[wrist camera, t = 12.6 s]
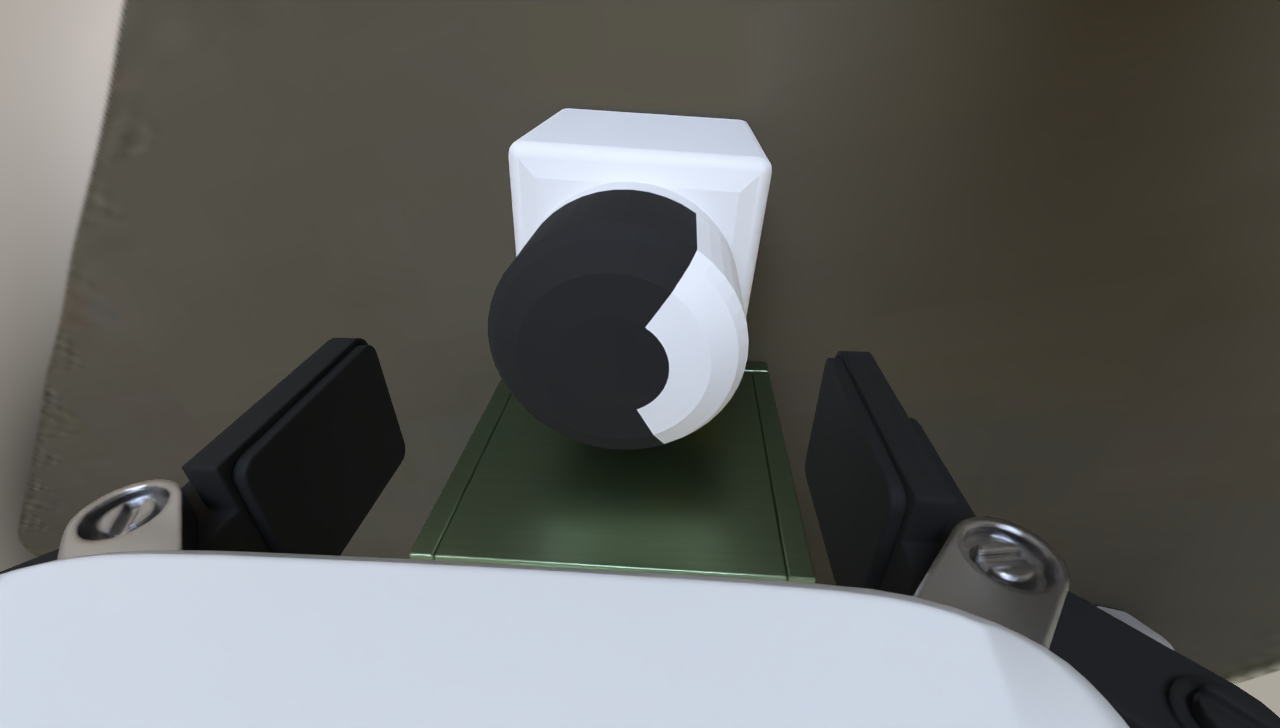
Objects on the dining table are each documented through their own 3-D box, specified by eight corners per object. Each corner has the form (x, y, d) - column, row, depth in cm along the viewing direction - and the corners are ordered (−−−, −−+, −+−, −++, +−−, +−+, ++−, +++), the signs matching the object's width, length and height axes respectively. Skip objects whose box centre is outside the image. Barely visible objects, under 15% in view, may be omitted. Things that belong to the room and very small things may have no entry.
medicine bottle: (564, 281, 24) (472, 471, 14) (559, 106, 20) (426, 190, 10) (724, 294, 24) (749, 497, 14) (750, 119, 20) (812, 218, 10)
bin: (514, 353, 26) (407, 554, 16) (766, 361, 25) (816, 579, 15) (547, 559, 35) (489, 776, 25) (737, 571, 34) (757, 800, 24)
